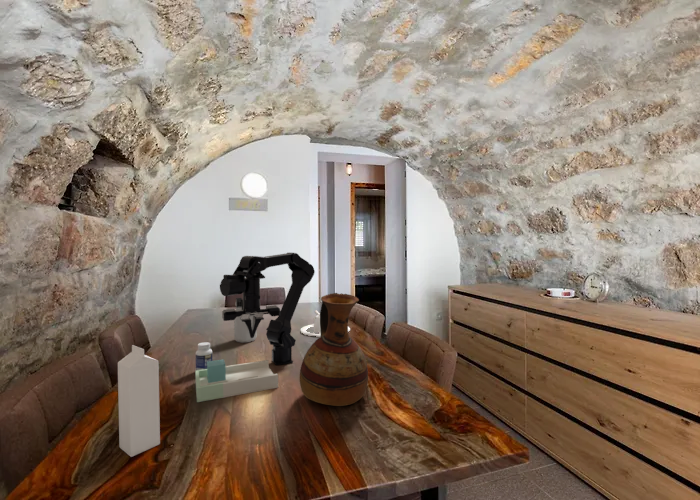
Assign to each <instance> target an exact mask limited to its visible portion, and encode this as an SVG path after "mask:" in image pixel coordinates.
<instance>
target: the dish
mask: <svg viewBox="0 0 700 500" xmlns="http://www.w3.org/2000/svg"><path fill="white" fill-rule="evenodd" d="M314 313H315V314H316V316H315V317H314V318H313V323H312V324H308V325H304V326H303V327H301V328H300V333H301V334H302V333H303V334H305V335H304V336H306V335H308V336H307V337H310V336H316V337H315V338H320V336H321V328H320V311H318V310H317V309H316V310H315V311H314ZM310 327H314V332H319V334H315V333H314V332H313V333H310V332H307V331H306V330H307V329H308V328H310ZM349 331H351V328H350V326H348V332H349ZM349 333H350V332H349ZM303 334H302V335H303Z"/></svg>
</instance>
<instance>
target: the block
mask: <svg viewBox="0 0 700 500" xmlns="http://www.w3.org/2000/svg"><path fill="white" fill-rule="evenodd" d="M225 366H226V362H225V359H224V358H223V359H217V360H216V359H215V360H212V361H208V362H207V378H208V383H211V382H217V381H223V380H226V368H225Z"/></svg>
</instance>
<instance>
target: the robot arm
mask: <svg viewBox="0 0 700 500" xmlns="http://www.w3.org/2000/svg"><path fill="white" fill-rule="evenodd" d="M283 265H287V267H288V269H289V270H290V271H291V276H290V277H291V285H290V287H289V289H288V292H287V295H286V297H285V299H284V302H283V304H282V307H281V308H280V307H278V305H275V304H274V305H266V306H265V308H261V281H260V280H262V279H266V276H265V275H264V274H262V272H263V271H265V270H267V269H268V268H272V267H276V266H283ZM232 273H233V274H224V275H223V278H222V279H221V281H220V283H219V289H220V291H219V292H220V293H221V295H222V296H223V297H229V296H236V295H242V297H236V298H235V308H230V309H223V311H221V315H222V316H221V317H222V320H223V321H224V322H227V321H229V322H230V321H234V319H235V318H236V317H240V320H241V321H242V322H245V324H246V326H247V328H248V331H249V334H250V337H251V338H254V335H255V332H256V331H257V329H258V327H259V325H260V323H261V321H264V320H265V317H264V315H270V316H271V317H277V318H275V319H270V321H269V324H268V326H267V328H266V334H265V335H266V338H267V340H268V342H269V344H270V345H272V346H273V347H272V349H271V361H272V363H274V365H276V366H279V365H286V364H293V363H294V361H293V360H292V359H293V358H292V357H293V356H292V355H293V354H292V351H293V350H292V347H295V345H296V339H295V338H294V337H293V336H292V335H291V333H292V323H291V321H292V319H293V316H294V314H295V310H296V309H297V306H298V304H299V300H300V299H301V296H302V293H303V291H304V288H305V287H306V286H307V285H308V284H309V283H310V282H311V280H313V279H312V278H313V277H314V275H315V273H316V271H315V268H314V266H313V264H310V263H309V262H308V261H307V260H306V259H304V258H302V257H301V256H300V255H299V254H298V253H297V252H285V253H279V254H273V255H267V256H259V255H244V256H241V258H240V260H239V264H238V265H237V267H236V269H235V270H234V272H232ZM239 307H242V310H243V311H236V308H239ZM251 315H254V316H252V317H253V323H252V325H251V319H250V318H249V317H250V316H251Z"/></svg>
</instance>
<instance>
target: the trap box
mask: <svg viewBox="0 0 700 500" xmlns="http://www.w3.org/2000/svg"><path fill="white" fill-rule="evenodd" d="M225 368H226V380H223V381H217V382H211V383H208V378H207V369H203V370H196V369H195V371H194V372H195V392H196V403H200V402H205V401H212V400H217V399H222V398H229V397H234V396H239V395H244V394H249V393H255V392H261V391H267V390H272V389H277V388H279V374H278V373H274V372H273V371H272V369H271V368H270V366H269V359H265V360H260V361H259V360H258V361H257V360H256V361H251V362H245V363H238V364H231V365H225Z"/></svg>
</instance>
